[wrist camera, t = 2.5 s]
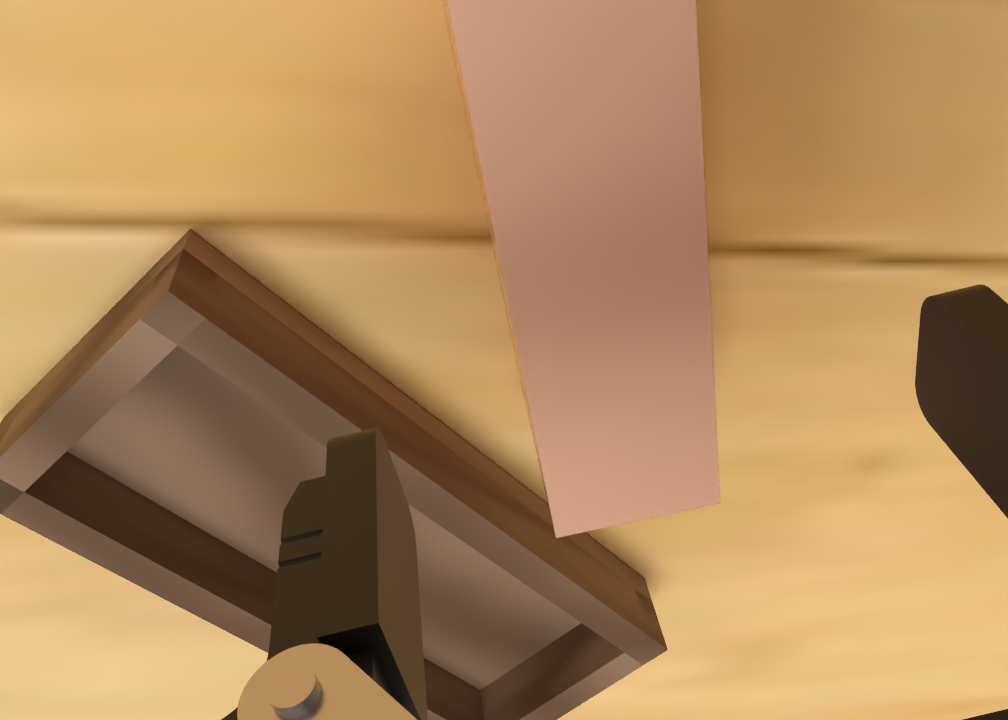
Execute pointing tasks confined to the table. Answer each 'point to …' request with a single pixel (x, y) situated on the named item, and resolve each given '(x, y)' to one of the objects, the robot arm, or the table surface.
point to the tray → (277, 473)
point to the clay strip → (599, 243)
